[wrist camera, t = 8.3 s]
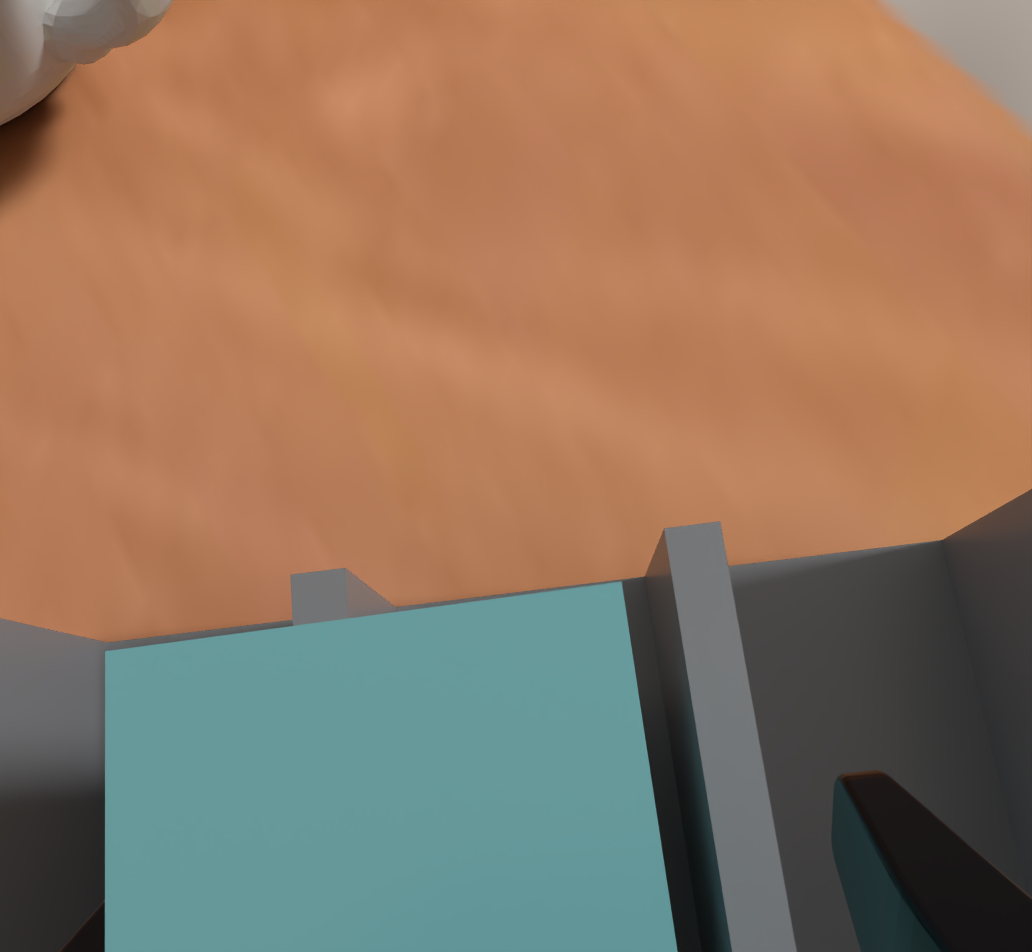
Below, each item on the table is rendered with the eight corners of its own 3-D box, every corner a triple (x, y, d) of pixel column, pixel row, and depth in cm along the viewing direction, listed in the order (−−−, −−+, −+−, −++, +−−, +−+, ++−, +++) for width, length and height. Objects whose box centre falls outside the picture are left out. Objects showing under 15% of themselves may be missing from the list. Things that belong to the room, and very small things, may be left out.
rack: (1121, 1153, 15) (1355, 1326, 11) (79, 1263, 16) (-126, 1475, 11) (968, 543, 18) (1103, 473, 13) (86, 651, 19) (-76, 619, 14)
